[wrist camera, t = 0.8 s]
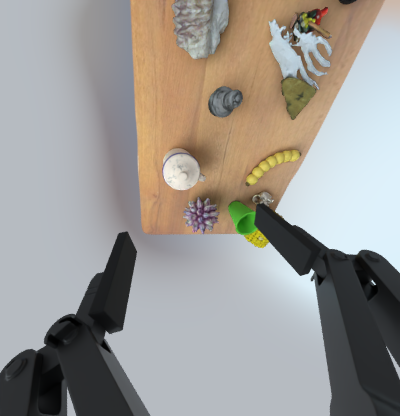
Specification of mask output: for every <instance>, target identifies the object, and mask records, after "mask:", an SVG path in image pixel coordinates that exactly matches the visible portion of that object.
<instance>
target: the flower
mask: <svg viewBox="0 0 400 416" xmlns="http://www.w3.org/2000/svg"><path fill="white" fill-rule="evenodd" d="M188 203H189V205H190V208H185V209H186V210H187V211H184V213H186V214H187V215H185V216H183V218H186V219H187V221H186V222H185V224H187V227H188V226H192V225H193V231H192V232H195V231H196V232H197V230H198V229H199V228H200V230H201V232H202V234H204V231H205V227H206V228H207V229H209V230H210V231H212V229H213V227H212V226H213V223H219V221H217V220H216V219H218V218H217V217H215V216H218V214H220V212H215V210H217V208H215V207H216V206H217V205H216V204H214V205H210V200H209V199H208V198H207V199H206V200H205V201H204V202H203V203H202V201H201V199H200V197H198V200H197V203H195V202H194V201H192V202H191V201H189V202H188Z"/></svg>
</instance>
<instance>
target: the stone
mask: <svg viewBox="0 0 400 416" xmlns="http://www.w3.org/2000/svg"><path fill="white" fill-rule="evenodd" d="M281 84H282V95H283V96H285V99H286V102H287V111H288V112H289V114H290V116H291V119H292V120H293V119H295V118H296V116H297V115H298V114H299V112H300V111H301V110H302V109H303V108H304V107H305V106H306V105H307V103H308V102H309V101H310V99H311V98H312V97H313V96H314V95H315V93H316V89H315V88H314V87H312V86H311V85H309V84H308V83H307V82H305V81H303V80H301V79H298V78H295V77H291V76H288V77H286V78H285V79H283V80H282V81H281Z"/></svg>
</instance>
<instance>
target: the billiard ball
mask: <svg viewBox="0 0 400 416" xmlns="http://www.w3.org/2000/svg"><path fill="white" fill-rule="evenodd" d="M339 1H340V2H341V3H342V4H350V3H353V2H355V1H356V0H339Z"/></svg>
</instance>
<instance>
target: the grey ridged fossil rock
mask: <svg viewBox="0 0 400 416" xmlns="http://www.w3.org/2000/svg"><path fill="white" fill-rule="evenodd" d="M171 7H172V9H173V11H174V12H175V17H174V18H173V22H174V24H175V25H176V27H175V29H174V34H175V35H177V40H176V44H177V45H178V46H179V47H180V48H184V49H185V50H186V51H187V52H189V54H190V55H191V57H192V58H193V59H202V58H207V57H208V55H209V54H214V53H215V50H216V48H217V45H218V44H219V43H220V33H223V32H224V31H225V28H226V26H227V25H228V20H229V18H228V15H229V8H228V0H175V3H174V4H173V5H172V6H171Z"/></svg>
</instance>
